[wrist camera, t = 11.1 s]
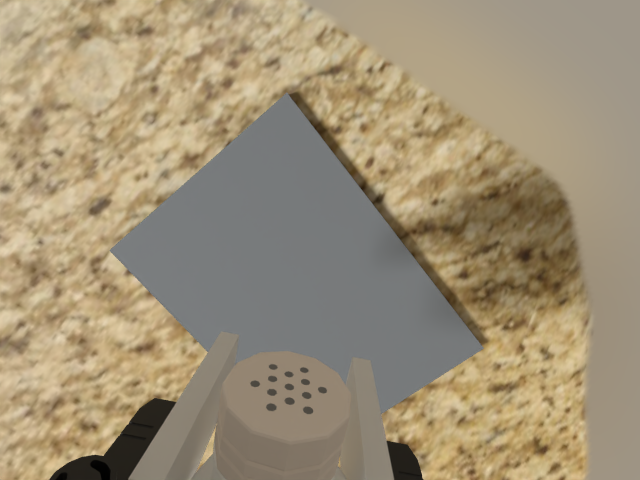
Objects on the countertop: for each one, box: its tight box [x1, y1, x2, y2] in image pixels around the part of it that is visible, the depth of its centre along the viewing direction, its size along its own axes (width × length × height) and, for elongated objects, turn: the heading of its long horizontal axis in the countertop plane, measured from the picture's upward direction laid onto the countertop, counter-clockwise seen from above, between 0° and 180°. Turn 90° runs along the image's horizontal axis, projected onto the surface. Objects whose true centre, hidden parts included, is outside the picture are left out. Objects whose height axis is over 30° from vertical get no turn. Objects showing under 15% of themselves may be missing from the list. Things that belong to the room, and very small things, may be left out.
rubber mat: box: [110, 93, 484, 414], centre depth 24 cm, size 22×16×1 cm
